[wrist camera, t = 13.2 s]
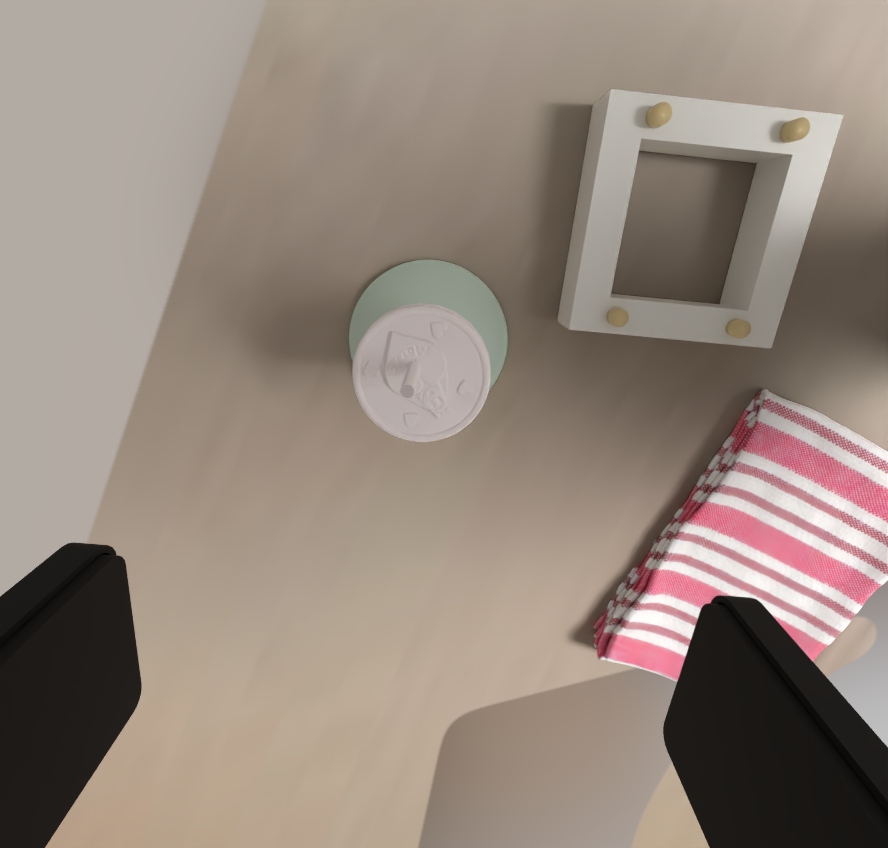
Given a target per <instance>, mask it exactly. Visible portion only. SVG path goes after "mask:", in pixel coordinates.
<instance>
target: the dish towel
mask: <svg viewBox="0 0 888 848" xmlns="http://www.w3.org/2000/svg"><path fill="white" fill-rule="evenodd" d="M656 540H657V538H656V539H655V541H653V543H654V545H653V547H652V548H651V550H650V551H649V553H648V555H647V557H646V558H645V560H644V561H643V563H642V564H641V566H639V565H638V566H637V567H634V568H633V569H632V570H631V573H629V574H628V578H627V580H625V581H623V582H622V583H621V584H620V585H619V587H618V589H617V591H616V595H615V596H614V597H613V598H612V599H611V600H610V602H609V603H608V606H607V611H606V612H605V613H604V615H602V616H601V617H600V618H599V620H598V621H597V622H596V624H595V626H594V628H595V629H597V630H598V631H597V632H596V633H595V634H594V637H595V638H596V639H595V641H594V647H595V648H596V649H597V655H598V659H599V660H607V661H610V662H615V663H620V664H625V665H629V666H633V667H637V668H641V669H644V670H647V671H650V672H653V673H656V674H660V675H662V676H664V677H667V678H669V679H672V680H674V681H678V678H679V675H680V672H681V669H682V666H683V663H684V660H685V657H686V654H687V650H688V647H689V644H690V641H691V638H692V635H693V632H694V629H695V626H696V623H697V619H698V616H699V613H700V610H701V608H702V606H703V605H705V604H708V603H711V601H712V599H713V598H714V597H715V596H719V595H724V596H737V597H749V598H754V599H757V600H758V601H759V602H761V603H762V604H763V605H764V607H765V608H766V609H767V610H768V611H769V612H770V613H771V615H772V616H773V617H774V618H775V619H776V620H777V621H778V623H779V624H780V625H781V626H782V627H783V628H784V629H785V631H786V632H787V633H788V634H789V635H790V636H791V637H792V639H793V640H794V641H795V642H796V643H797V644H798V645H799V647H800V648H801V649H802V650H803V651H804V652H805V653H806V655H807V656H808V657H809V658H810V659H811V660H812V661H813V660H814V659H815V658H816V657H817V656H818V654H819V653H820V652H821V651H822V650H823V649H824V648H825V647H826V646H828V645H829V644H831V643H832V642H833V641H834V640H835V638H836V637H837V635H838V634H839V633H841V632H842V631H843V630H844V629H845V628H846V627H847V625H848V624H849V623H850V622H851V619H852V618H853V617H854V615H856V614H857V613H858V612H859V610H860V609H861V607H862V606H863V604H864V602H865V601H866V600H867V599H868V598H869V597H870V596H871V594H873V593H874V591H875V590H876V589H877V588H878V587H880V586H881V585H883V584H884V583H885V582H886V581H887V580H888V451H886V450H884V449H882V448H880V447H879V446H877V445H876V444H874V443H872V442H870V441H869V440H867V439H865V438H863V437H862V436H860V435H858V434H857V433H855V432H854V431H852V430H850V429H848V428H847V427H844V426H842V425H840V424H838V423H836V422H835V421H833V420H831V419H830V418H828V417H826V416H825V415H823V414H822V413H819V412H817V411H815V410H813V409H811V408H808V407H806V406H804V405H801V404H798V403H795V402H792V401H789V400H786V399H784V398H781V397H779V396H777V395H775V394H773V393H770V392H769V391H768V389H764V390H761V391H759V392H758V394H757V395H756V397H755V398H754V399H753V400H752V401H751V402H750V404H749V406H748V407H747V408H746V409H745V410H744V412H743V414H742V416H741V418H740V419H739V421H738V423H737V425H736V427H735V428H734V430H733V432H732V434H731V435H730V436H729V437H728V438H727V440H726V441H725V442H724V443H723V445H722V447H721V448H720V450H719V452H718V453H717V454H716V455H715V456H714V458H713V459H712V460H711V462H710V463H709V465H708V466H707V469H706V470H705V471H704V473H703V474H702V475H701V476H700V478H699V480H698V482H697V483H696V485H695V487H694V489H693V490H692V492H691V493H690V495H689V497H688V498H687V500H686V501H685V503H684V504H683V506H682V507H680V509H679V510H678V511H677V512H676V513H675V515H674V517H673V519H672V520H671V522H670V523H669V524H668V525H667V526H666V528H665V529H664V530H663V531H662V533H661V534H660V536H659V538H658V540H657V541H656Z"/></svg>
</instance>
